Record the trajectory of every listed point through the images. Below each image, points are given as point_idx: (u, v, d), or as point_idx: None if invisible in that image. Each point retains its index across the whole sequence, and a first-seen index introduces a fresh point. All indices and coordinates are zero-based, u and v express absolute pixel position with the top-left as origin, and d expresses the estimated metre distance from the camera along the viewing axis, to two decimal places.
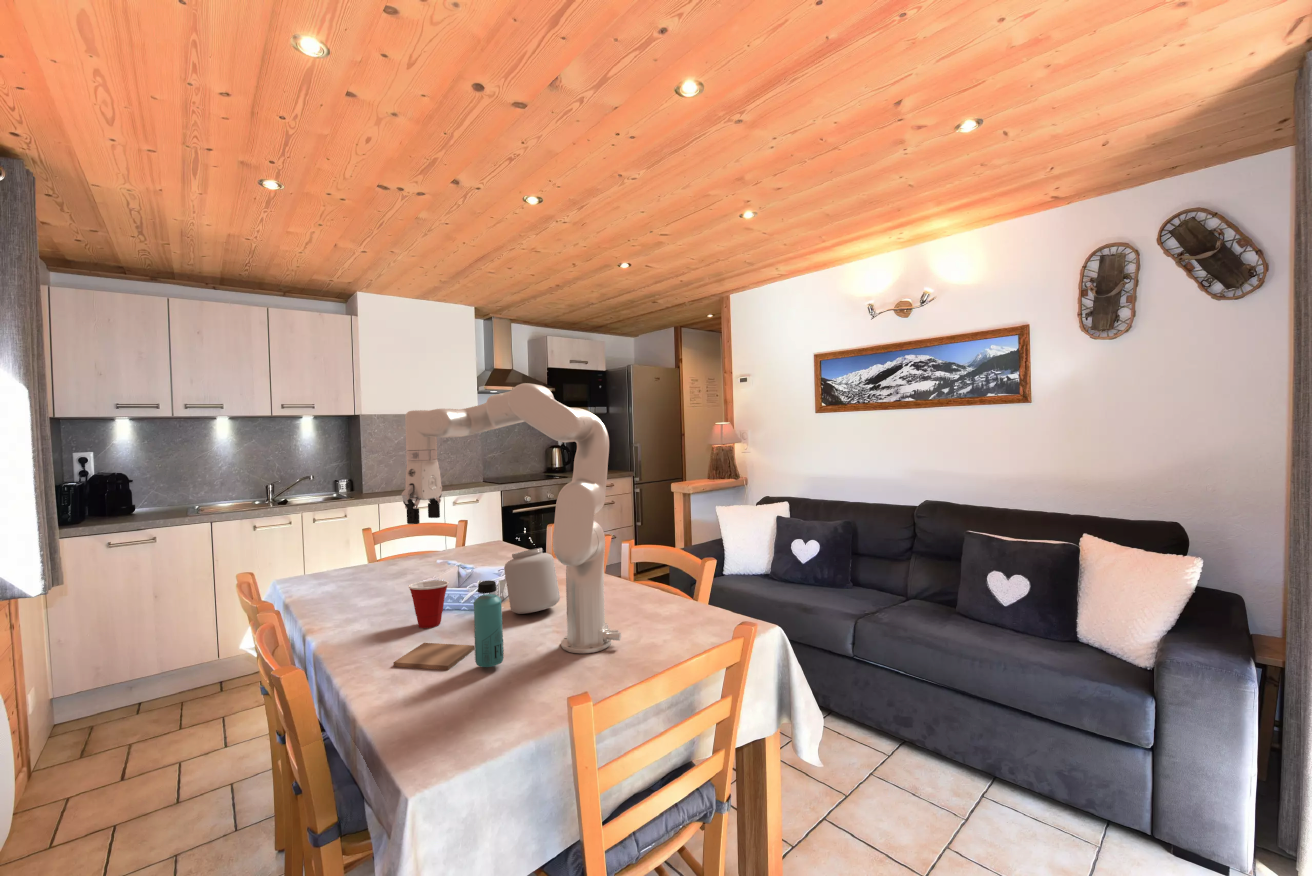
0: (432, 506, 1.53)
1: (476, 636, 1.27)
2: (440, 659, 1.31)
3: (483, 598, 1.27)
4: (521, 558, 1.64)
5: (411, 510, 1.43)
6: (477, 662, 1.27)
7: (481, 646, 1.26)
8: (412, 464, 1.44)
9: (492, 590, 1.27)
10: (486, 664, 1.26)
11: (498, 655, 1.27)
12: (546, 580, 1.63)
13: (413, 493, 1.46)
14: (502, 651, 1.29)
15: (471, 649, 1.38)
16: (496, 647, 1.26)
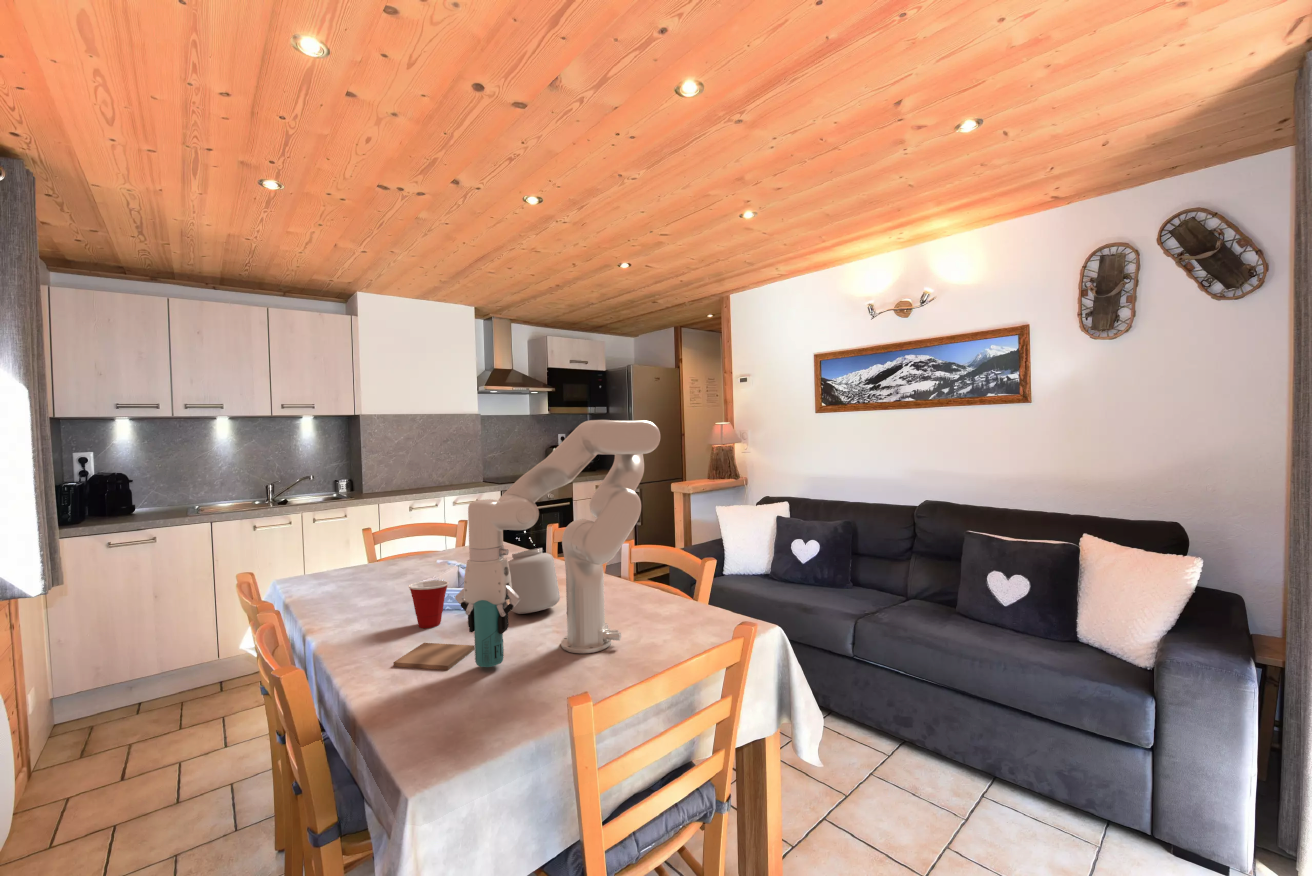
0: None
1: (476, 636, 1.27)
2: (440, 659, 1.31)
3: None
4: (521, 558, 1.64)
5: (507, 615, 1.28)
6: (477, 662, 1.27)
7: (481, 646, 1.26)
8: (504, 561, 1.28)
9: None
10: (486, 664, 1.26)
11: (497, 655, 1.27)
12: (546, 580, 1.63)
13: None
14: (502, 651, 1.29)
15: (471, 649, 1.38)
16: (496, 647, 1.26)
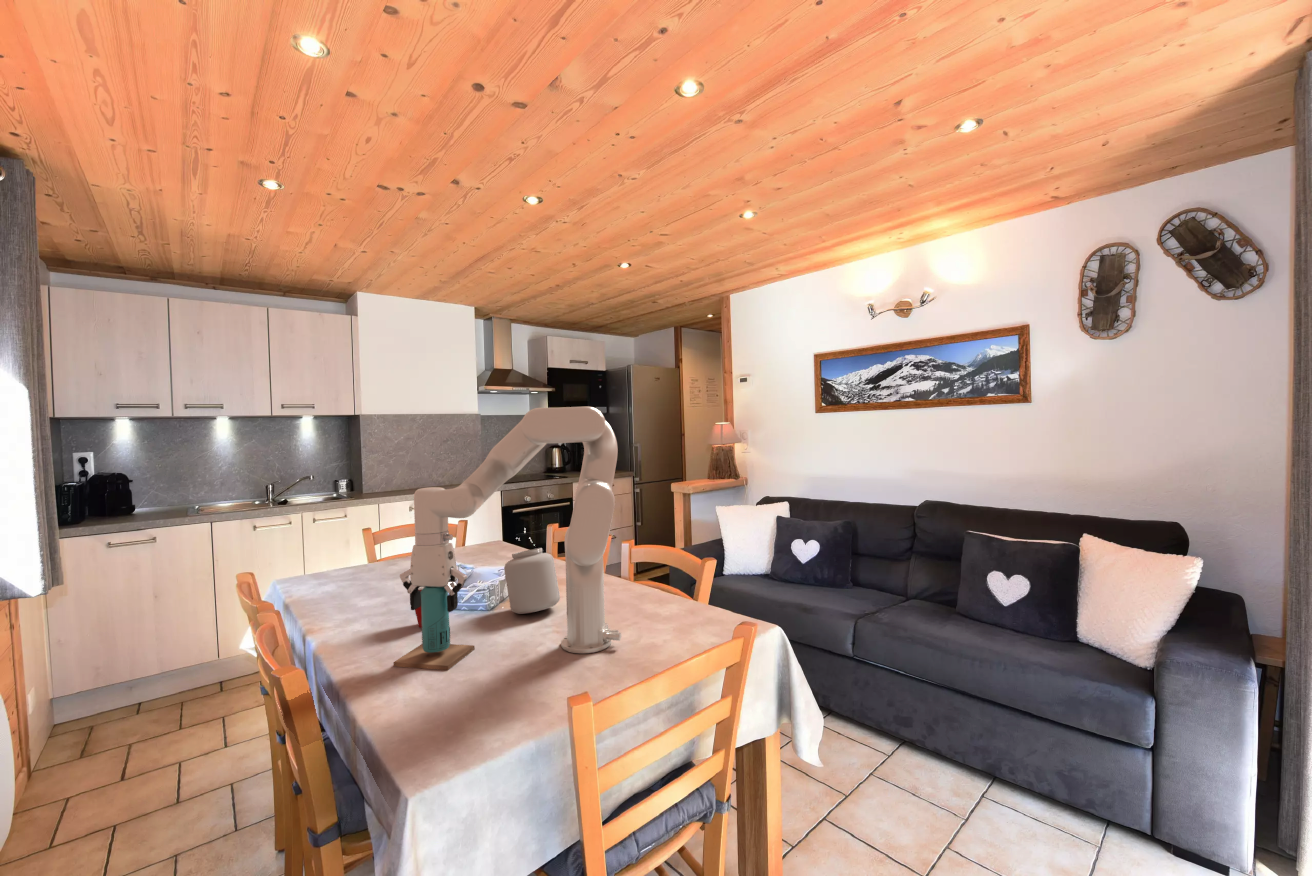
0: (416, 595, 1.36)
1: (423, 623, 1.33)
2: (440, 659, 1.31)
3: (429, 587, 1.34)
4: (521, 558, 1.64)
5: (456, 594, 1.34)
6: (423, 648, 1.33)
7: (427, 632, 1.32)
8: (449, 546, 1.34)
9: None
10: (432, 650, 1.32)
11: (443, 641, 1.33)
12: (546, 580, 1.63)
13: None
14: (448, 637, 1.35)
15: (471, 649, 1.38)
16: (441, 633, 1.33)
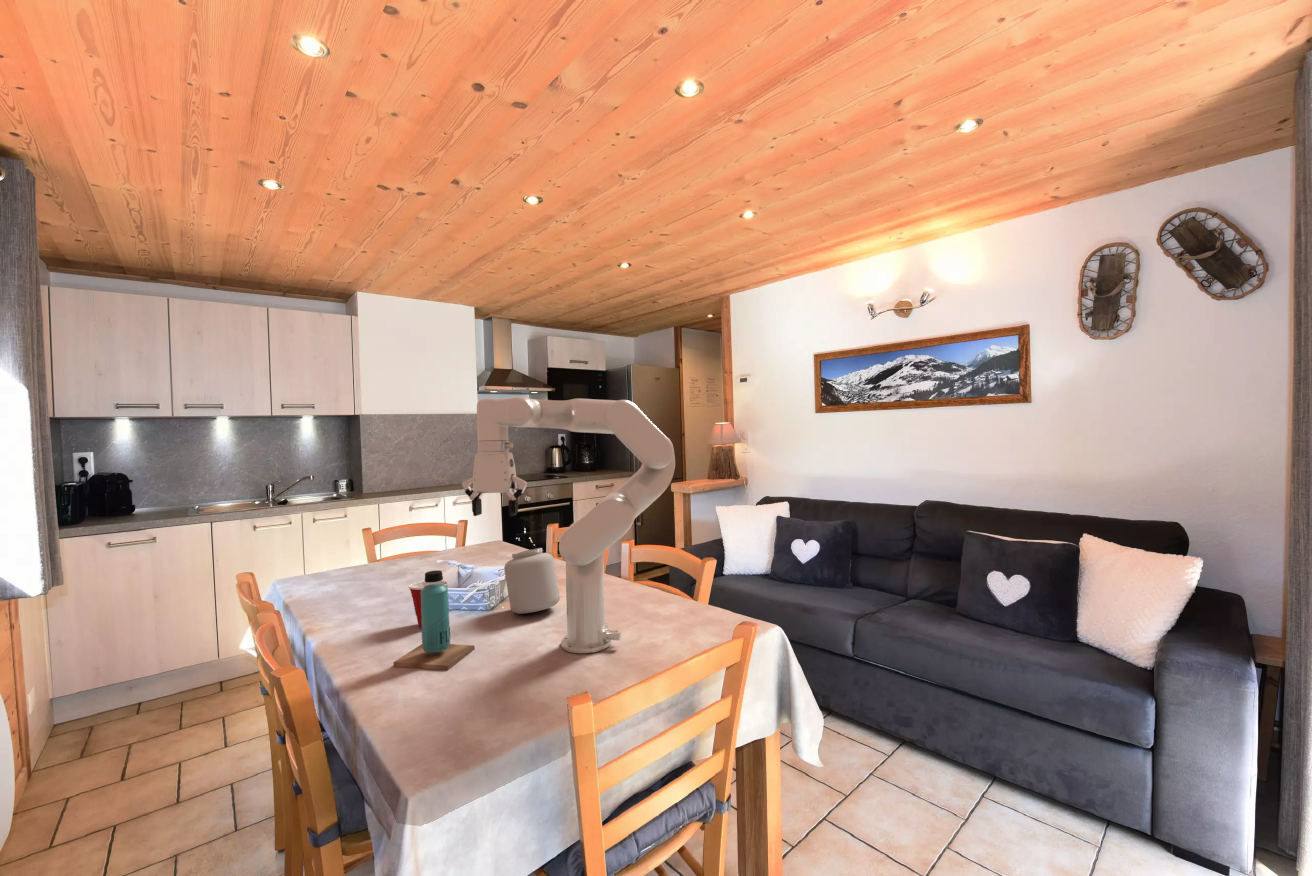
0: (478, 502, 1.42)
1: (422, 623, 1.33)
2: (440, 659, 1.31)
3: (429, 587, 1.34)
4: (521, 558, 1.64)
5: (516, 500, 1.40)
6: (423, 648, 1.33)
7: (427, 632, 1.32)
8: (510, 454, 1.40)
9: (438, 579, 1.34)
10: (432, 650, 1.32)
11: (443, 641, 1.33)
12: (546, 580, 1.63)
13: None
14: (448, 637, 1.35)
15: (471, 649, 1.38)
16: (441, 633, 1.33)
